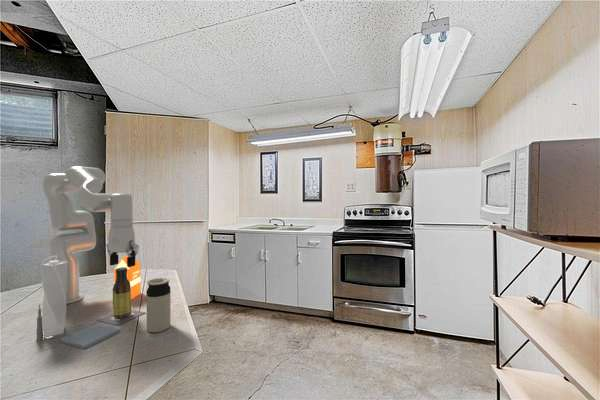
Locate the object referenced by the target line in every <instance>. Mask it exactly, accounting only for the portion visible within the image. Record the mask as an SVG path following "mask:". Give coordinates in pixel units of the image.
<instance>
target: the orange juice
mask: <svg viewBox="0 0 600 400" xmlns="http://www.w3.org/2000/svg"><path fill="white" fill-rule="evenodd" d="M127 257H128V255H127V256H124V257H122V258H121V259H120V261H118V264H116V267H115V268H114V269H113V272H114V275H113V277H114V278H113V279H114V280H113V285H114V284H115V281H116V272H115V271H116V269H117V268H121V267H127ZM127 279H128V281H129V282H130V289H131V300H132V299H134V298H135V297H136V296H139V295H140V294H141V279H142V278H141V263H140V262H139V261H138V260H137V259H136V258H135V266H132V267H127Z"/></svg>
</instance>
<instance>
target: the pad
mask: <svg viewBox="0 0 600 400" xmlns="http://www.w3.org/2000/svg"><path fill="white" fill-rule="evenodd" d="M120 332H121V328H118V327H114V326H109V325H106V324H101V323H96V324H92V325H91V326H89V327H86V328H84V329H80V330H79V331H77V332H73V333H72V334H70V335H68V336H63V338H60V343H62V344H65V345H68V346H69V345H70V346H73V347H75V348H76V347H77V348H80V349H84V350H85V349H87V348H89V347H92V346H94V345H95V344H97V343H99V342H101V341H104V340H106V339H107V338H110V337H112V336H114V335H116V334H118V333H120Z"/></svg>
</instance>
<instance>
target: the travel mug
mask: <svg viewBox="0 0 600 400" xmlns="http://www.w3.org/2000/svg"><path fill="white" fill-rule="evenodd" d="M169 282H170V278H168V277H155V278H152V279H150V280H148V281H147V282H146V284H147V286H148V287H147V289H146V331H147V332H149V333H152V332H153V333H154V334H155V332H156V333H160V332H161V333H162V332H163V331H165V330H168V329H169V328H170V327H171V286H170V285H169Z"/></svg>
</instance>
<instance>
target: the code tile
mask: <svg viewBox="0 0 600 400" xmlns="http://www.w3.org/2000/svg"><path fill="white" fill-rule="evenodd" d="M145 314H147V311H141V310H136V309H131V314H130V315H129V316H127V317H125V318H114V314H113V313H111V314H109V315H107V316H106V315H105V316H104V317H102V318H99V319H96V321H97V322H102V323H106V324H110V325H115V326H122V325H123V324H125V323H127V322H129V321H131V320H134V319H136V318H138V317H140V316H142V315H145Z"/></svg>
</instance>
